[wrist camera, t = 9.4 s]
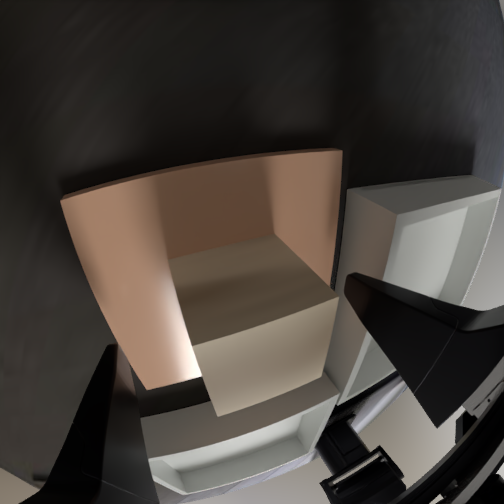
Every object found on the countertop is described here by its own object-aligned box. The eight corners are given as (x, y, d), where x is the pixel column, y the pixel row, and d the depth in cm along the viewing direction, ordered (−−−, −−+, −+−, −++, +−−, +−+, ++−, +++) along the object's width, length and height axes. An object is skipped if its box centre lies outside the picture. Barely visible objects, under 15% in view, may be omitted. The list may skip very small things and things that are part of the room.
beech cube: (275, 311, 12) (321, 376, 9) (189, 337, 11) (217, 416, 8) (274, 233, 10) (339, 296, 7) (167, 259, 9) (191, 346, 6)
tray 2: (430, 311, 23) (449, 328, 21) (316, 376, 19) (337, 405, 16) (471, 174, 16) (501, 188, 13) (347, 189, 11) (397, 214, 9)
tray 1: (299, 432, 25) (311, 452, 23) (175, 471, 21) (183, 495, 18) (317, 361, 18) (340, 393, 15) (115, 422, 13) (122, 462, 11)
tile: (316, 327, 15) (321, 333, 15) (145, 381, 12) (146, 390, 12) (333, 147, 10) (342, 150, 10) (64, 194, 7) (60, 200, 7)
